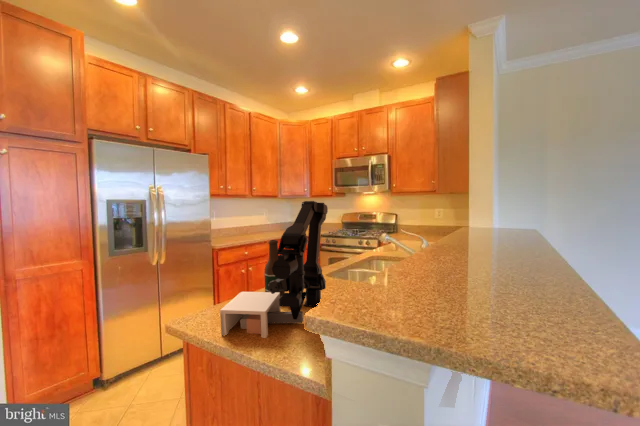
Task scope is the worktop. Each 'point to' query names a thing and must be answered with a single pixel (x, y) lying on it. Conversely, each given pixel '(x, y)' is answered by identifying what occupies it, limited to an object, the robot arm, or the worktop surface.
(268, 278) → the beer bottle
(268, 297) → the cubby
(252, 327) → the cube
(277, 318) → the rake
